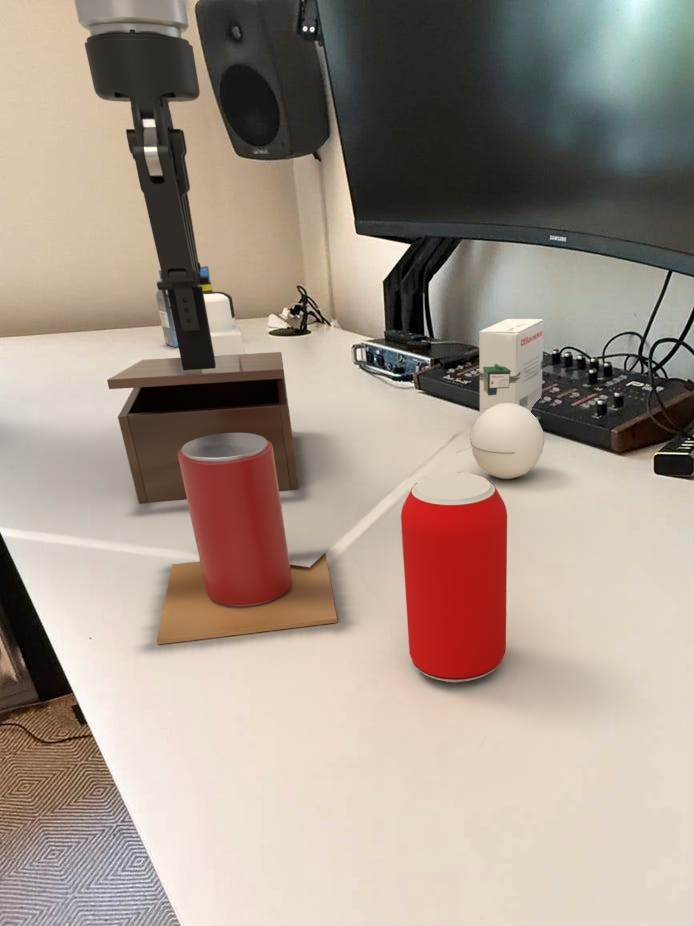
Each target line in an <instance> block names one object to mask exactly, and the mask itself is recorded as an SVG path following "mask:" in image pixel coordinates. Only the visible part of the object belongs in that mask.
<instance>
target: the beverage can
mask: <svg viewBox="0 0 694 926" xmlns="http://www.w3.org/2000/svg"><path fill="white" fill-rule="evenodd" d="M400 525H401V542H402V559H403V572H404V588H405V591H404V592H405V605H406V606H405V607H406V620H407V622H406V623H407V635H408V636H407V637H408V638H407V639H408V652H409V656H410V659H411V662H412V664H413V666H414V667H415V669H416V670H417V671H419V672H420V673H422V674H423V675H425V676H427V677H429V678H430V679H433V680H437V681H441V682H447V683H465V682H470V681H473V680H477V679H478V680H479V679H481V678H483V677H486V676H488V675H489V674H491V673H492V672H494V671H495V670H496V669H497V668H498V667H499V665H500V664H501V662H502V661H503V659H504V657H505V655H506V652H507V591H508V590H507V588H508V587H507V581H508V579H507V578H508V577H507V576H508V574H507V573H508V511H507V506H506V504H505V501H504V499H503V498H502V496H501V494H500V492H499V491H498V489H497V487H496V486H495V484H494V483H493V482H491V481H490V480H488V479H487V478H485V477H483V476H480V475H476V474H472V473H467V472H445V473H438V474H433V475H429V476H426V477H424V478H422V479H420V480H419V481H418V482H416V483H415V484H414V485H413V486H412V487H411V489H410V491H409V492H408V495H407V497H406V498H405V501H404V502H403V504H402V509H401V513H400Z"/></svg>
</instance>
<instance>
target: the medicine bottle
mask: <svg viewBox="0 0 694 926" xmlns="http://www.w3.org/2000/svg"><path fill="white" fill-rule="evenodd" d="M203 295H204V300H205V306H206V312H207V317H208V323H209V329H210V334H211V340H212V346H213V351H214V356H219V355H237V354H246V350H245V344H244V337H243V332H242V330H241V326H240V325H239V324H237V323H236V322H237V321H236V314H235V309H234V302H233V297H232V296H231V295H230V294H228V293H226V292H223V291H213V292H203Z"/></svg>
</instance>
